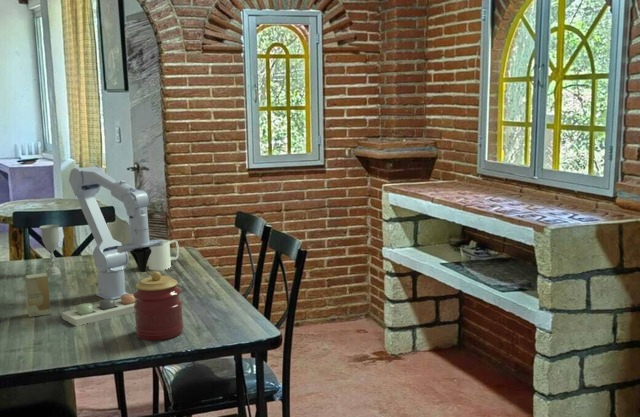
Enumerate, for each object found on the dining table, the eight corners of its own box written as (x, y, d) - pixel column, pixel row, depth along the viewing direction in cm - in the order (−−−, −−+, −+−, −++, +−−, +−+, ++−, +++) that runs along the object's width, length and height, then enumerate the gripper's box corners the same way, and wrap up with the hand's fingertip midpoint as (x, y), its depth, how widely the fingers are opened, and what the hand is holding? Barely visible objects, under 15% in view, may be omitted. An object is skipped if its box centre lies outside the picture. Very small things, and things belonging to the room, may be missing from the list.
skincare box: (29, 317, 214) (25, 278, 212) (27, 313, 218) (24, 275, 216) (51, 314, 217) (48, 275, 215) (49, 310, 221) (46, 272, 219)
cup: (183, 267, 271) (181, 241, 270) (151, 271, 266) (150, 245, 264) (177, 263, 279) (176, 238, 277) (146, 267, 273) (145, 241, 272)
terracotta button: (118, 305, 221) (118, 295, 220) (131, 302, 224) (131, 292, 223) (125, 308, 217) (124, 298, 217) (138, 305, 220) (137, 295, 220)
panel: (62, 318, 212) (61, 312, 211) (135, 301, 228) (135, 295, 227) (76, 326, 204) (75, 319, 204) (151, 308, 220) (150, 301, 220)
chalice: (67, 272, 268) (63, 225, 265) (52, 276, 262) (47, 228, 259) (55, 270, 272) (50, 224, 269) (39, 274, 266) (35, 227, 263)
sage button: (75, 315, 211) (74, 305, 211) (89, 312, 214) (88, 302, 214) (81, 319, 208) (80, 308, 208) (95, 315, 211) (94, 305, 211)
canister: (140, 344, 188) (135, 280, 185) (132, 330, 200) (127, 269, 197) (188, 336, 193) (184, 273, 191) (178, 323, 205) (174, 263, 202)
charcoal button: (97, 310, 216) (96, 300, 216) (111, 307, 219) (110, 297, 218) (103, 313, 213) (103, 303, 212) (117, 310, 216) (116, 300, 215)
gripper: (123, 234, 214) (126, 278, 216) (166, 227, 223) (169, 269, 226) (112, 231, 219) (116, 274, 222) (155, 224, 229) (158, 265, 231)
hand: (142, 271), depth 224 cm, fingers closed
